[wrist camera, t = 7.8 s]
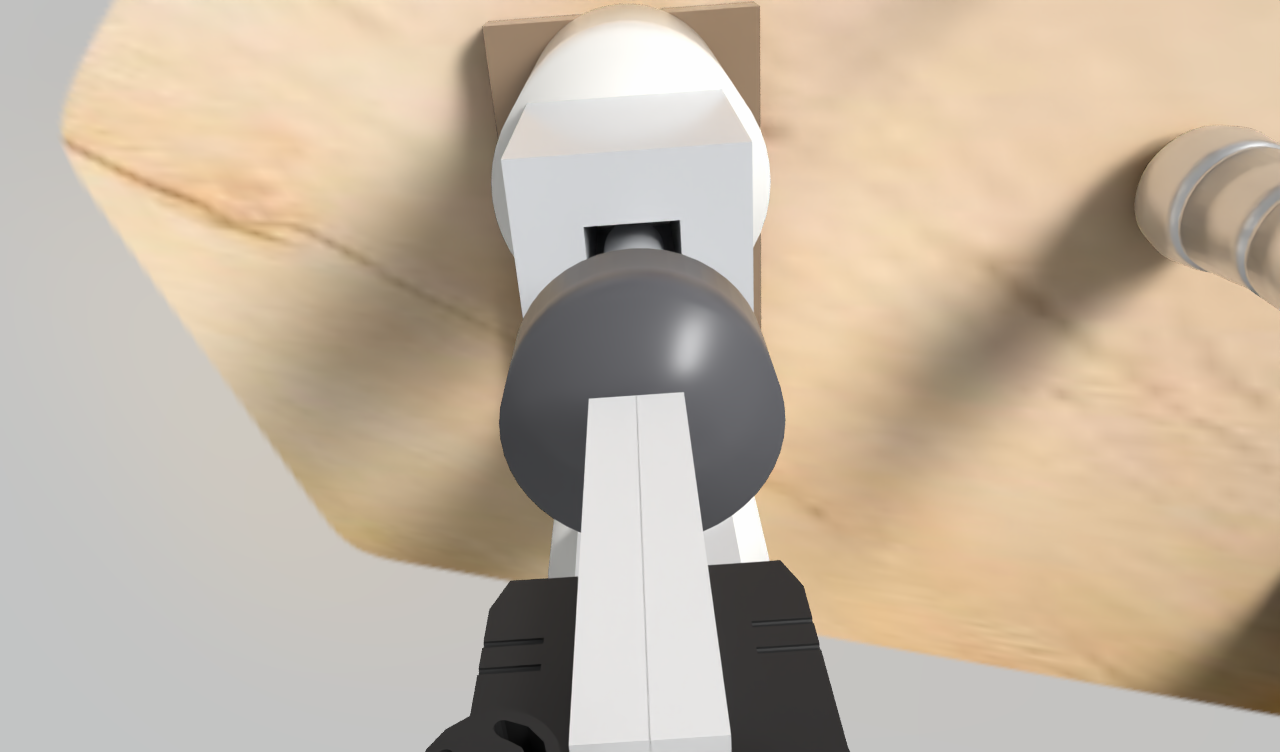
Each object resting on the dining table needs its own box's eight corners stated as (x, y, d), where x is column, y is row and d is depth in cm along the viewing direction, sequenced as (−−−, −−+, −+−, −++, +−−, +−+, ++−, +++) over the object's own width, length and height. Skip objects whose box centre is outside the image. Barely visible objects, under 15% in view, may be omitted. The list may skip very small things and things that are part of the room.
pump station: (756, 458, 52) (840, 792, 32) (549, 472, 52) (508, 814, 32) (753, -11, 40) (882, 66, 20) (486, 9, 40) (362, 104, 21)
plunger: (729, 327, 25) (783, 535, 17) (551, 339, 25) (519, 552, 17) (725, 149, 23) (787, 287, 14) (529, 162, 23) (478, 308, 14)
